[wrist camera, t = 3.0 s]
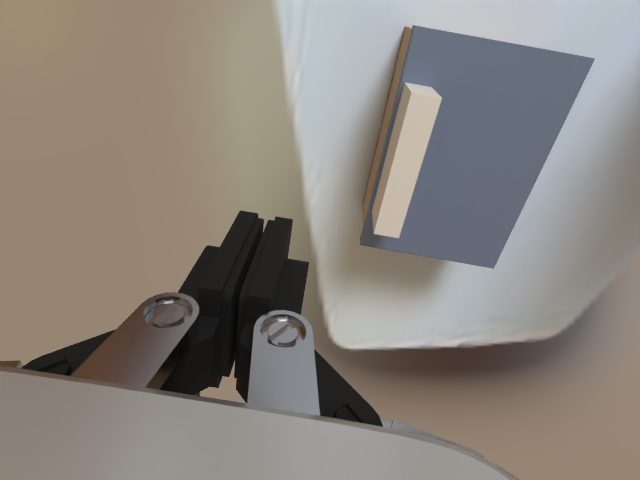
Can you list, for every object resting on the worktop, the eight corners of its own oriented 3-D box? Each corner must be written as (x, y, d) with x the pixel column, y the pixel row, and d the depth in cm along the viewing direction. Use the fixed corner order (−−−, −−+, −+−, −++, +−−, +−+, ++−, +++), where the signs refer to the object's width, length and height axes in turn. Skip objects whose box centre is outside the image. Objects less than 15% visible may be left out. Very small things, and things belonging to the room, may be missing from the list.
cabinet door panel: (586, 57, 20) (630, 65, 17) (490, 262, 27) (508, 295, 24) (413, 25, 20) (423, 28, 17) (360, 239, 27) (360, 270, 24)
